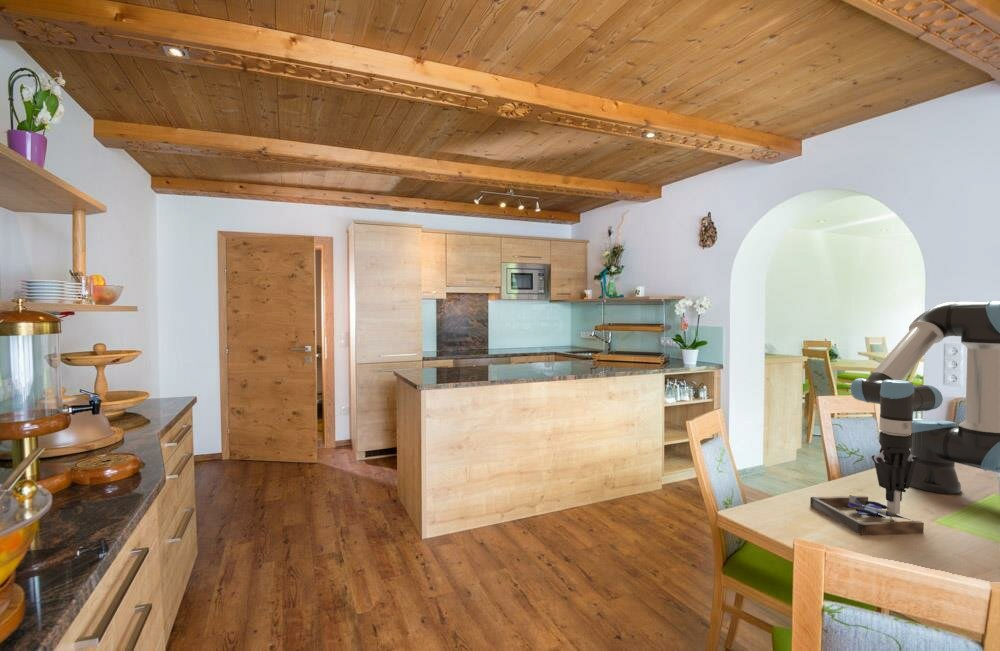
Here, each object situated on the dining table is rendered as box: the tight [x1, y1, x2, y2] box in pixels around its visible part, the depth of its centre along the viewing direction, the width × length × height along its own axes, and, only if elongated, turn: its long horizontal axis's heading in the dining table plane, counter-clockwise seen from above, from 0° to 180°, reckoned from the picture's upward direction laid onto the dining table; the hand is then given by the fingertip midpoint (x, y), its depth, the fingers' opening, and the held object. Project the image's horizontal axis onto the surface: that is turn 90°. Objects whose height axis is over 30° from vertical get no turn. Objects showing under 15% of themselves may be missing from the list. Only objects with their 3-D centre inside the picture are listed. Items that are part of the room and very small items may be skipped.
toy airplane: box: [847, 494, 914, 522], centre depth 141 cm, size 13×14×4 cm
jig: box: [809, 495, 925, 537], centre depth 141 cm, size 18×19×3 cm
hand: (893, 511), depth 141 cm, fingers closed
